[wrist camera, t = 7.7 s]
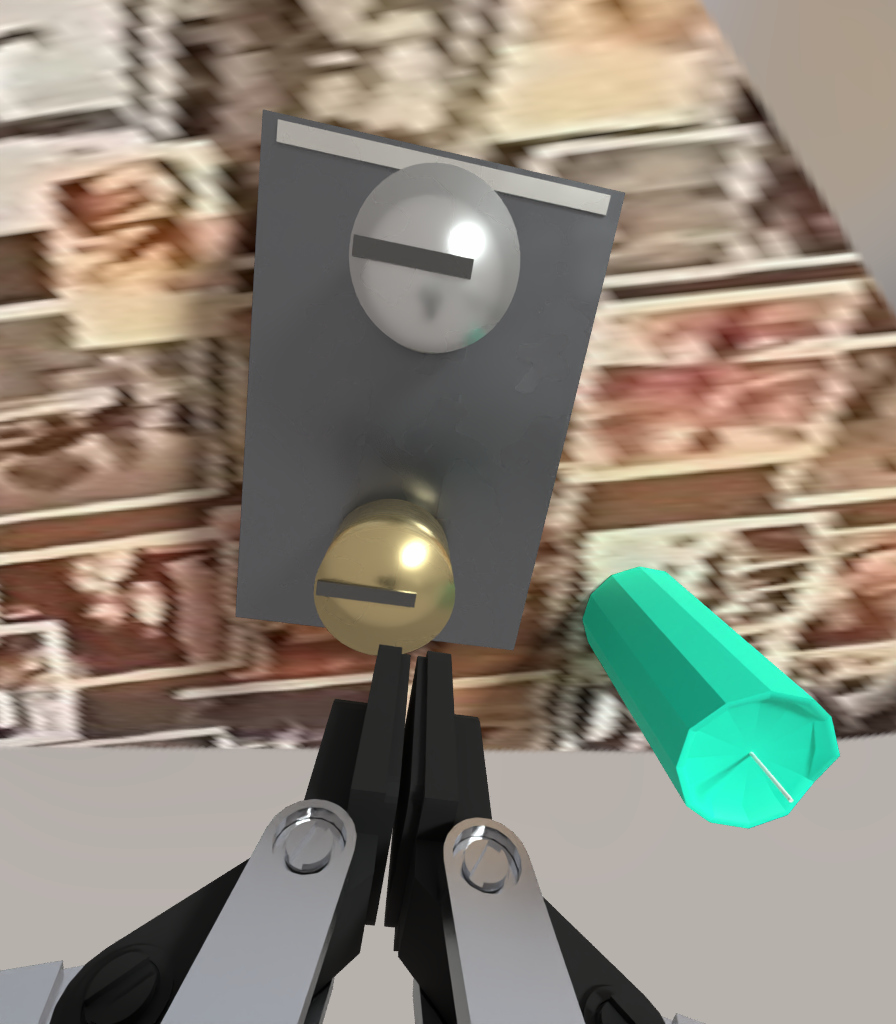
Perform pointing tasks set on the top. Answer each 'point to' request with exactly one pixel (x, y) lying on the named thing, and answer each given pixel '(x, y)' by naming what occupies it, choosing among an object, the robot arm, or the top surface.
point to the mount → (406, 381)
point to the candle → (708, 701)
